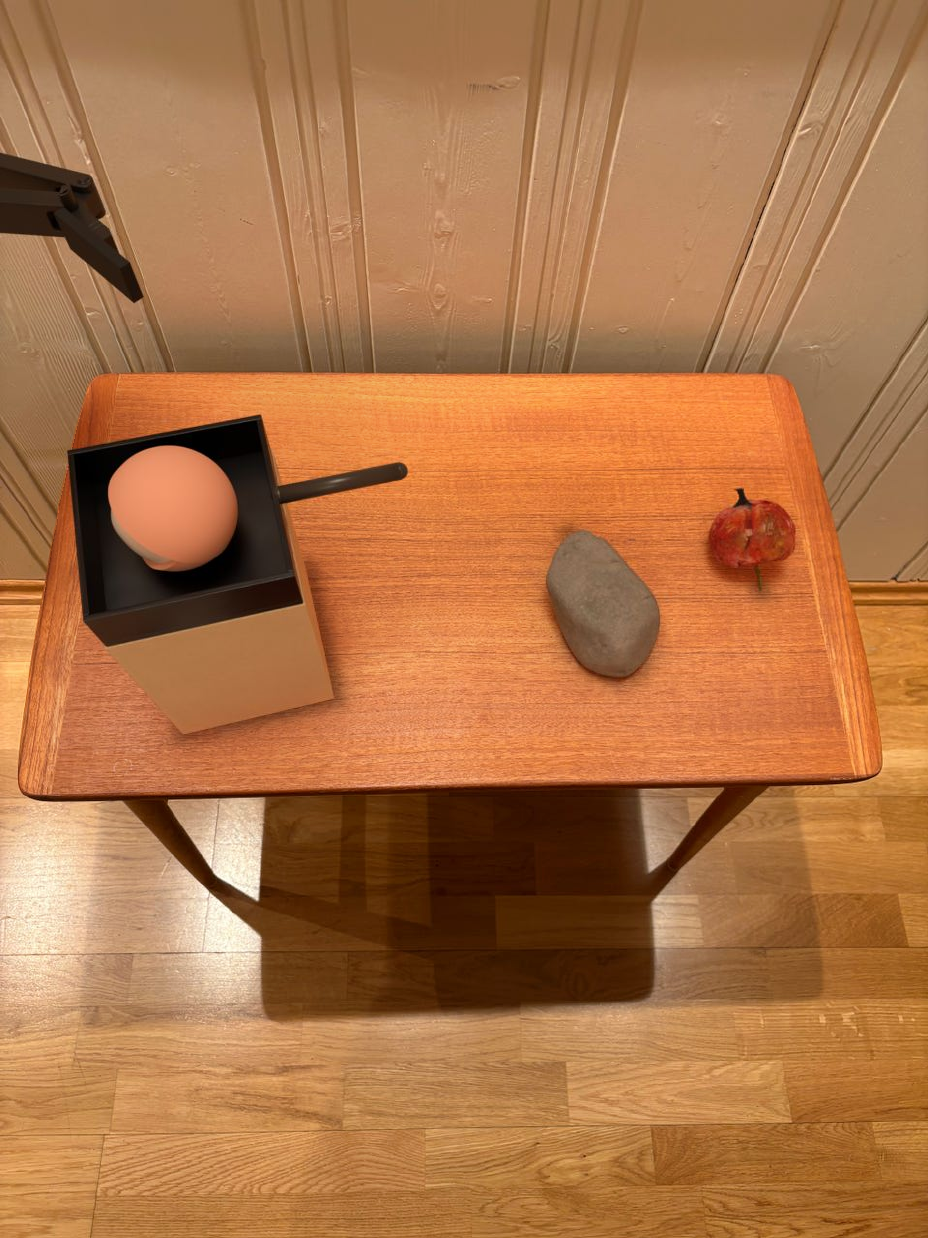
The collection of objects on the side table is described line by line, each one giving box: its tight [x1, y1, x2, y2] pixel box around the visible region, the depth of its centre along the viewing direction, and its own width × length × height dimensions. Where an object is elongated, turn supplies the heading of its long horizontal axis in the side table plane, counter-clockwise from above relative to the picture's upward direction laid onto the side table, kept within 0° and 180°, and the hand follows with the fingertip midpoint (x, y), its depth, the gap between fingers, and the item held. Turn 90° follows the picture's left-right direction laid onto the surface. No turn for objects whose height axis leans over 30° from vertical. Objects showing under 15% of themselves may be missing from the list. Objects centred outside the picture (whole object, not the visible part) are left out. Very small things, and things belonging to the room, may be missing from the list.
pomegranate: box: [708, 487, 797, 591], centre depth 78 cm, size 7×7×10 cm
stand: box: [104, 447, 335, 735], centre depth 66 cm, size 13×13×19 cm
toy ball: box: [108, 446, 238, 571], centre depth 53 cm, size 8×8×8 cm
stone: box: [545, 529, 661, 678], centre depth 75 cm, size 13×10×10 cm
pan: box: [66, 414, 409, 647], centre depth 56 cm, size 22×13×4 cm, turn 105°
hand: (37, 344), depth 49 cm, fingers open, 13 cm apart
